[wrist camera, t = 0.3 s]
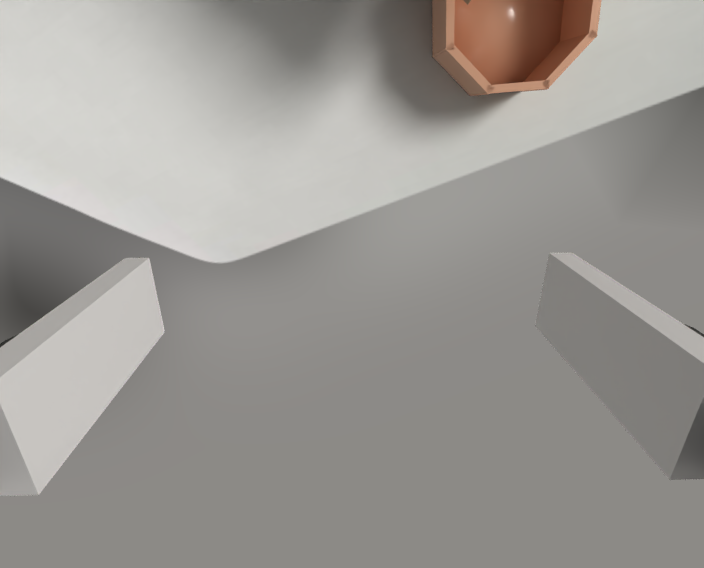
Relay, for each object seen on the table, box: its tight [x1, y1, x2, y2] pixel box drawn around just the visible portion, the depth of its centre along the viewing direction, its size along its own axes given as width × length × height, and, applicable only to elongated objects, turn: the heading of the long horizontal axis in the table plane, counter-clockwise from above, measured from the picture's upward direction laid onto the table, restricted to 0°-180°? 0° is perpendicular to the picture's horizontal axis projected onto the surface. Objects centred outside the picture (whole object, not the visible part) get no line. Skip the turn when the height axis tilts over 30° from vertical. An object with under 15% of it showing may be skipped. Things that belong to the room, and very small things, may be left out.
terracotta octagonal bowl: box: [432, 0, 601, 96], centre depth 32 cm, size 11×11×5 cm
